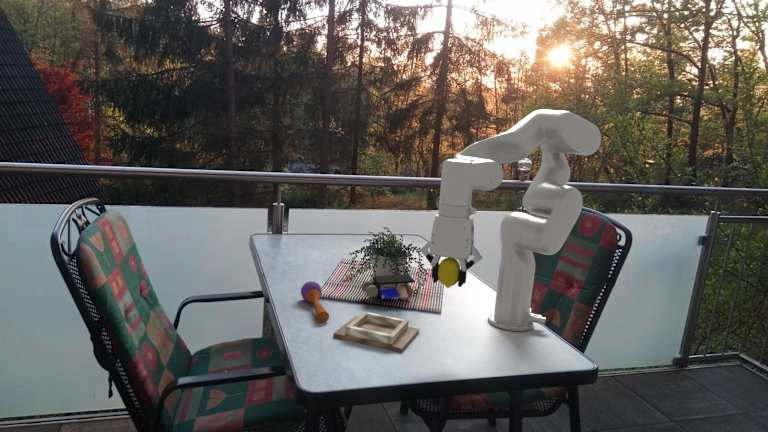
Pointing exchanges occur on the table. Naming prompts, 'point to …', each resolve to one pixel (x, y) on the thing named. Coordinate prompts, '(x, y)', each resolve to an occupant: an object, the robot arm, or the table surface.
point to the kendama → (314, 299)
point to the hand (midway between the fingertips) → (448, 282)
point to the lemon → (448, 272)
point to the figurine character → (375, 292)
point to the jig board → (378, 331)
